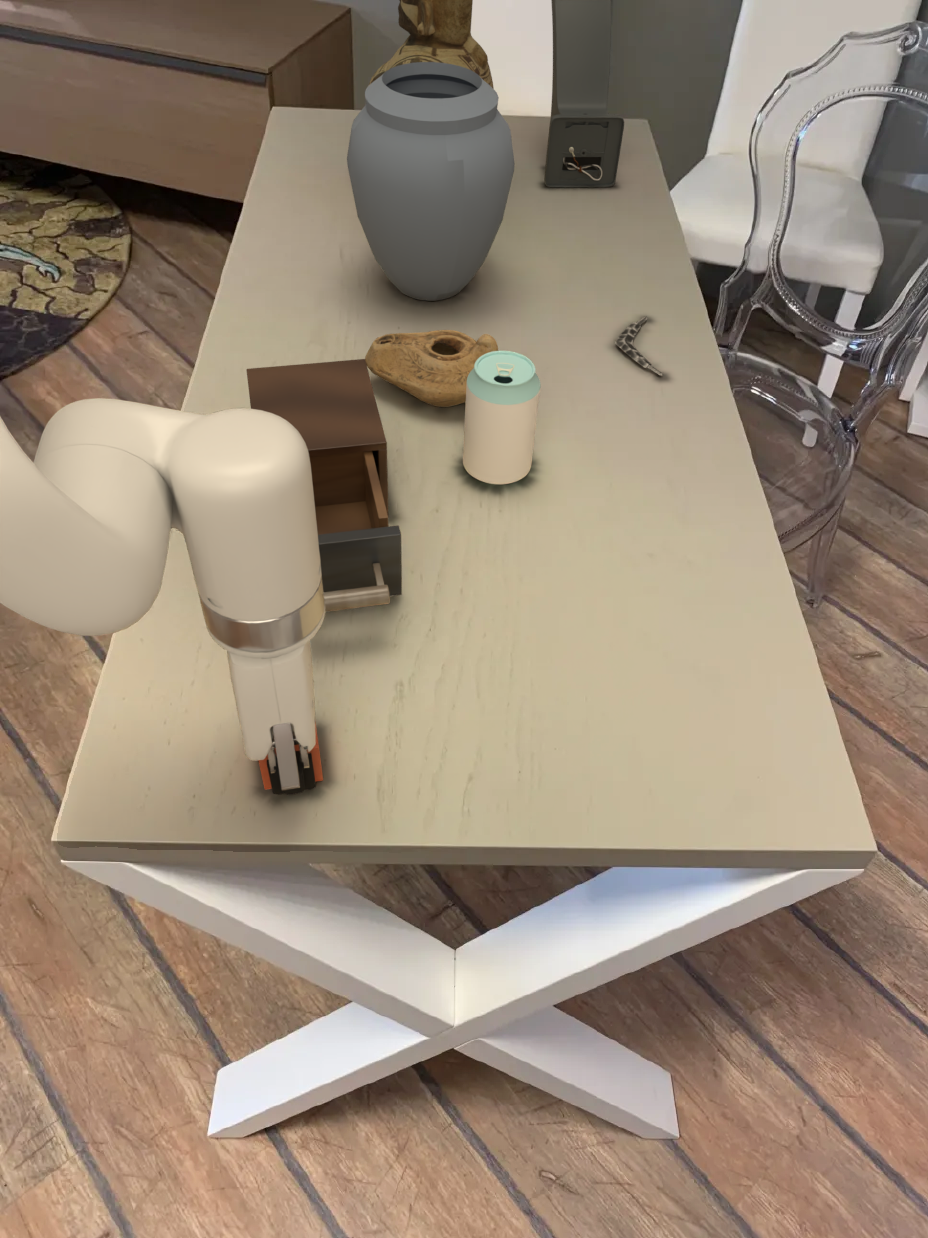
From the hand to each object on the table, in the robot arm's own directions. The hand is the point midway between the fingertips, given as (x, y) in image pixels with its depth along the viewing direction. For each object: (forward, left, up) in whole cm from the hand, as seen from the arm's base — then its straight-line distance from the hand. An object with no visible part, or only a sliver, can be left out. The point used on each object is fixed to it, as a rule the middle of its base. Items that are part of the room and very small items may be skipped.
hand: (291, 758), depth 72 cm
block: (0, 0, 0) cm, 0 cm away
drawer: (+6, +19, +1) cm, 20 cm away
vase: (+24, +69, -1) cm, 73 cm away
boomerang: (+46, +51, 0) cm, 69 cm away
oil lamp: (+20, +46, -1) cm, 50 cm away
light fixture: (+53, +103, -1) cm, 116 cm away
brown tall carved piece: (+30, +101, -1) cm, 105 cm away
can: (+24, +32, -1) cm, 40 cm away
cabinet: (+6, +33, 0) cm, 34 cm away
